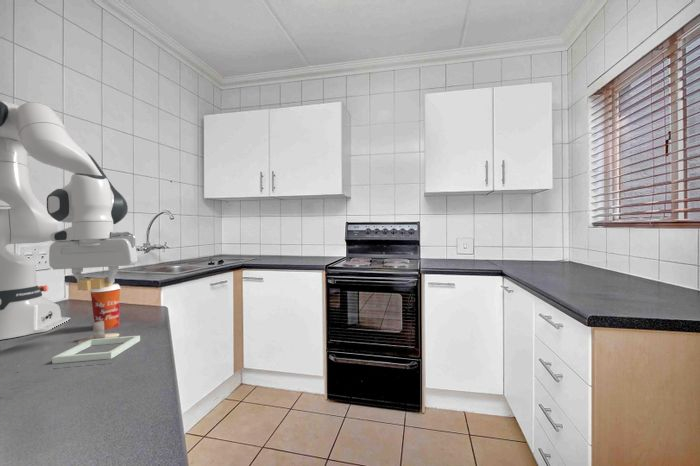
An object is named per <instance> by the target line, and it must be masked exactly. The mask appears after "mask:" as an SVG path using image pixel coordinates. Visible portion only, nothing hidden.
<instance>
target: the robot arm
mask: <svg viewBox="0 0 700 466" xmlns="http://www.w3.org/2000/svg"><path fill="white" fill-rule="evenodd" d="M28 154H29V155H30V157H32V158H33V159H34V160H36V161H37V162H40V163H42V164H44V165H47V166H50V167H54V168H56V169H57V168H58V169H61V170H64V171H67V172H70V173H72V175H71V178H70V181H69V182H68V184H66V185H65V186H63V187H61V188H56V189H54V190H53V191H52V192H51V193H49V194H48V195H47V197H46V205H44V204H43V203H42V202H41V201H40V200H39V199H38V198H37V196H36V195H35V192H34V191H33V186H32V183H31V176H30V165H29V158H28V156H29V155H28ZM0 201H2V202H4V203H6V204H7V205H8V206H9V207H10V208H0V340H1V341H2V340H6V339H13V338H18V337H25V336H28V335H34V334H38V333H44V332H48V331H50V330H53V329H55V328H57V327H58V325H59V326H61V325H63V324H65V323H67V322H69V321H68V320H69V319H71V317H68V316H62V311H61V308H60V305H59V304H57V303H56V302H53V301H51V300H49V299H48V298H45V296H43V293H42V292H48V290H49V288H48V285H46V284H45V285H37V267H36V263H35V261H34V260H33V259H31V258H29V257H27V256H23V255H21V254H17V253H14V252H11V251H8V249H7V247H6V246H8V245H18V244H38V243H44V242H45V243H46V242H50V241H51V242H52V243H51V244H50V246H49V251H48V253H49V254H48V258H49V259H48V263H49V267H50V268H52V270H71V274H72V275H73V276H74V278H75V279H76V282H77V281H80V280H85V279H89V278H88V277H85V276H84V275H83V272H84V269H87V268H88V269H90V268H92V269H93V268H105V267H107V269H108V271H109V273H108V276H105V283H106V284H110V283H113V284H115V282H116V281H115V278H116V275H117V273H118V272H119V267H125V266H126V267H127V266H134V265H136V264H137V262H138V260H139V259H138V253H137V252H138V251H137V247H136V235H134V234H133V233H130V232H129V231H120V232H117V231H116V232H115V227H114V226H115V225H116V224H118V223H119V222H121V221H122V220H123V219H124V218H125V217H126V215H127V214H128V210H129V208H128V207H129V206H128V202H127V200H126V199H125V198H124V196H123V194H121V193H120V192H119V191H118V190H117V189H116V187H114V186H113V183H111V181H110V179H109V178H108V177H107V176H106V174H105V173H104V171H103V170H102V168H101V166H100V165H99V164H98V163H97V161H96V159H95V158H94V157H93V156H92V155H90V153H88V152H87V151H85V150H84V149H83V148H82V147H80V146H79V145H78V144H77V143H76V142H75V141H74V140H73V138H72V137H71V136H70V134H69V132H68V130H67V128H66V126H65V124H64V123H63V122H62V120H61V119H60V117H59V116H58V114H57V113H56V112H55V110H53V109H52V108H51V107H49V106H48V105H46V104H43V103H40V102H25V103H23V104H21V105H19V104H16V103H12V102H9V101H4V100H0ZM65 223H67V224H69V223H71V226H70V227H67V228H65ZM77 286H78V284H77ZM66 321H67V322H66ZM64 322H65V323H64ZM62 323H63V324H62ZM60 324H61V325H60ZM56 326H57V327H56ZM54 327H55V328H54ZM52 328H53V329H52Z"/></svg>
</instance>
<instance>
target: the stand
mask: <svg viewBox="0 0 700 466" xmlns="http://www.w3.org/2000/svg"><path fill="white" fill-rule="evenodd" d="M114 337H120V333H118V332H109V333H108V332H107V333H105V330H104V321H98V322H92V336H88V337H85V338H82V339H80V340H79V341H77V345H79V344H82V343H84V342H86V341H88V340H90V339H102V338H114Z"/></svg>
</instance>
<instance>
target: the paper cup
mask: <svg viewBox="0 0 700 466" xmlns="http://www.w3.org/2000/svg"><path fill="white" fill-rule="evenodd" d="M121 289H122V288H121V285H120V284H119V283H113V286H109V287H105V288H101V289H91V290H88V291H89V293H90V297H91V298H90V299H91V307H92V314H93V315H92V316H93V321H94V322H98V321H104V331H105V330H109V329H114V328H117V327H119V325H120V290H121ZM94 322H93V323H94Z"/></svg>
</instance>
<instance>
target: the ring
mask: <svg viewBox="0 0 700 466" xmlns="http://www.w3.org/2000/svg"><path fill="white" fill-rule="evenodd" d="M105 277H106V276H105ZM105 277H103V276H102V277H91V278H88V279H85V280H80V281H77V280H76V283H77V284H78V285H77V291H90V290H91V289H101V288H105V287H109V286H113V284H114V283H110V284H106V283H105Z"/></svg>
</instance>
